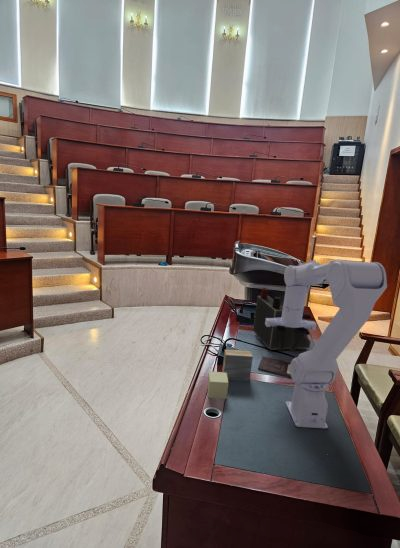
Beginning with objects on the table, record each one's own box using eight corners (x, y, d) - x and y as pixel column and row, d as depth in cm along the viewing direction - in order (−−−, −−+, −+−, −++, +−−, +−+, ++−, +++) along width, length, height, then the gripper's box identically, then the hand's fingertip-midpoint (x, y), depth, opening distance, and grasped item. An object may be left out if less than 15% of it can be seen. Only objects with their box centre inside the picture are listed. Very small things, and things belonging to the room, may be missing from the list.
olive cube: (226, 399, 89) (228, 382, 88) (208, 397, 89) (209, 381, 87) (224, 388, 94) (226, 372, 92) (207, 387, 93) (208, 371, 92)
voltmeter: (309, 351, 122) (318, 300, 117) (268, 352, 118) (276, 300, 113) (289, 333, 137) (296, 287, 132) (252, 333, 133) (258, 286, 128)
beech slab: (249, 380, 98) (252, 356, 97) (223, 379, 98) (225, 355, 96) (247, 374, 102) (250, 351, 100) (222, 373, 101) (224, 349, 100)
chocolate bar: (262, 356, 114) (316, 368, 108) (262, 358, 114) (316, 371, 108) (258, 368, 105) (316, 382, 100) (257, 370, 105) (316, 385, 100)
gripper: (313, 303, 98) (305, 345, 102) (265, 300, 98) (259, 342, 101) (322, 312, 91) (313, 356, 95) (271, 308, 91) (264, 353, 94)
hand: (286, 349), depth 97 cm, fingers open, 3 cm apart
